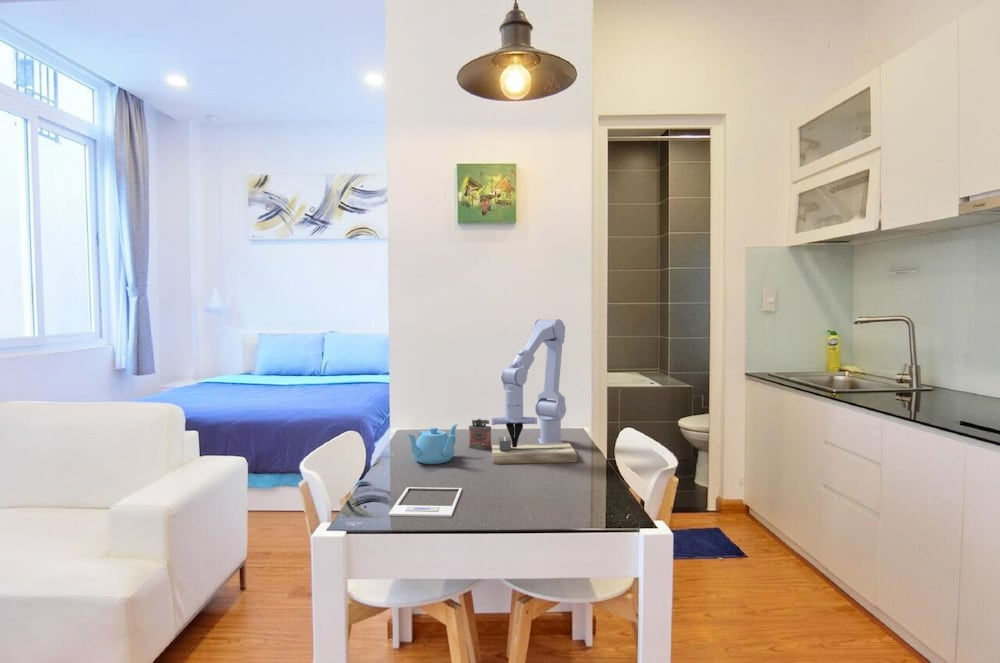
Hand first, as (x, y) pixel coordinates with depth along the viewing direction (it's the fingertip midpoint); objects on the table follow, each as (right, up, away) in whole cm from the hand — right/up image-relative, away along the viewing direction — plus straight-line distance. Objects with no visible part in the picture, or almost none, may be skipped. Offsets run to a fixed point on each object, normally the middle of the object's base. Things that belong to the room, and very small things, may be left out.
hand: (514, 446), depth 165 cm
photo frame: (-23, -6, -39) cm, 45 cm away
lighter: (-12, -3, +12) cm, 17 cm away
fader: (-3, -1, 0) cm, 3 cm away
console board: (+6, -3, 0) cm, 7 cm away
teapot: (-25, -4, -3) cm, 25 cm away
